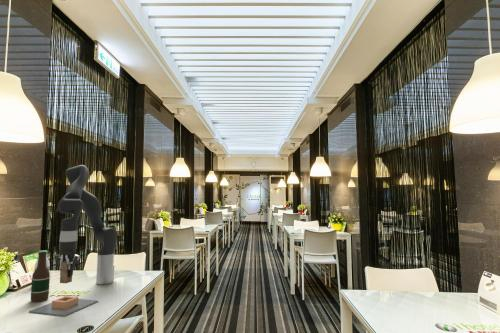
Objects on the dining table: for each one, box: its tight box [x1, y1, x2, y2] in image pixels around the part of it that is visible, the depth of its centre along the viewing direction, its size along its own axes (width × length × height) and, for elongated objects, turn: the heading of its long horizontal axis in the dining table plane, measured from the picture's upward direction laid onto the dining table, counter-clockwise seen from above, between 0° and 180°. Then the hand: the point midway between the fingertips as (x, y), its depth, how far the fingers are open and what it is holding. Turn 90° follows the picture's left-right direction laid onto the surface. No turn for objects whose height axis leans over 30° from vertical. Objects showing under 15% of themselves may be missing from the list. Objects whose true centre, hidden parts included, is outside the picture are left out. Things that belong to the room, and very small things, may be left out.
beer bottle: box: [30, 250, 51, 303], centre depth 159 cm, size 8×8×24 cm
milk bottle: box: [33, 249, 51, 272], centre depth 186 cm, size 8×8×20 cm
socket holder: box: [28, 295, 99, 317], centre depth 148 cm, size 20×20×4 cm
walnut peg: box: [59, 261, 73, 284], centre depth 149 cm, size 4×4×10 cm
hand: (66, 276), depth 149 cm, fingers closed on walnut peg, 3 cm apart
